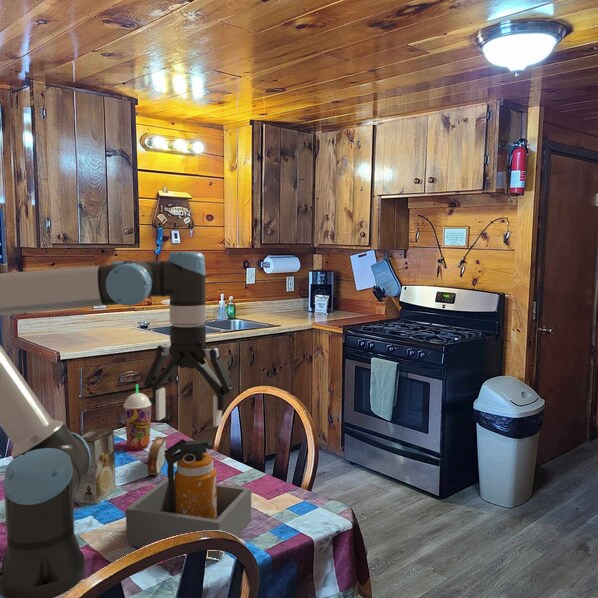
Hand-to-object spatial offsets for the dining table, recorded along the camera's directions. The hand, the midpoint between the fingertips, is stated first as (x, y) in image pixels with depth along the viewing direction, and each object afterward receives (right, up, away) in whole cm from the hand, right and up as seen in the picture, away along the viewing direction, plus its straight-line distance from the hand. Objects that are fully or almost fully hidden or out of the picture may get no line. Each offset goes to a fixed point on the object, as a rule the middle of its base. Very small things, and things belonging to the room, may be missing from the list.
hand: (188, 421), depth 126 cm
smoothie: (-26, -20, +56) cm, 65 cm away
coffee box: (-28, -23, +21) cm, 42 cm away
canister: (0, -24, +3) cm, 24 cm away
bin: (0, -25, +2) cm, 25 cm away
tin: (-16, -22, +39) cm, 47 cm away
